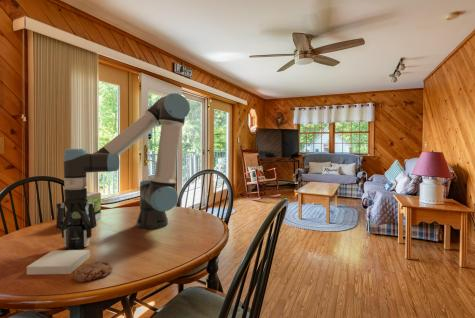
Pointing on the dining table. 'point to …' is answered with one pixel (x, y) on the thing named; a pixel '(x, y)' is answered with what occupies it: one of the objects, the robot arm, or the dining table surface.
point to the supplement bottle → (75, 233)
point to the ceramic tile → (58, 262)
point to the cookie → (92, 271)
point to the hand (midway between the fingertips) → (77, 245)
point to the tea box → (92, 198)
